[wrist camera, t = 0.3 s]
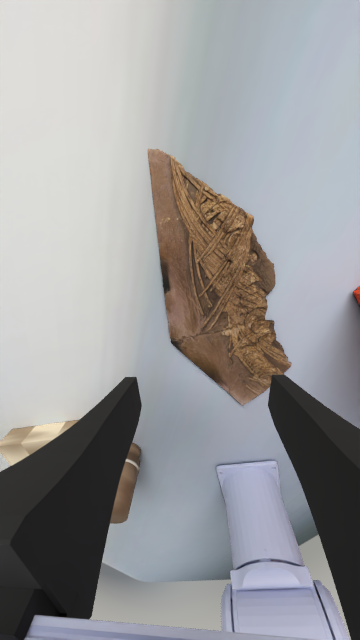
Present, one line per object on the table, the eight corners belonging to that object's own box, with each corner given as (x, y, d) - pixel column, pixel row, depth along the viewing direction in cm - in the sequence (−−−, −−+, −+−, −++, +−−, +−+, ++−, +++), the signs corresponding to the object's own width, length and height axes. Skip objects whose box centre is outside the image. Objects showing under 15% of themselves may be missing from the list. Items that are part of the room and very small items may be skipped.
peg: (146, 457, 28) (133, 522, 22) (122, 460, 29) (101, 524, 22) (138, 439, 27) (121, 502, 21) (112, 442, 28) (88, 505, 21)
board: (127, 485, 31) (122, 505, 29) (57, 491, 33) (47, 510, 31) (91, 418, 26) (81, 435, 24) (12, 429, 28) (-5, 446, 26)
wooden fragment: (294, 390, 23) (299, 397, 22) (200, 410, 25) (201, 417, 24) (241, 109, 14) (244, 99, 13) (104, 174, 16) (99, 170, 15)
